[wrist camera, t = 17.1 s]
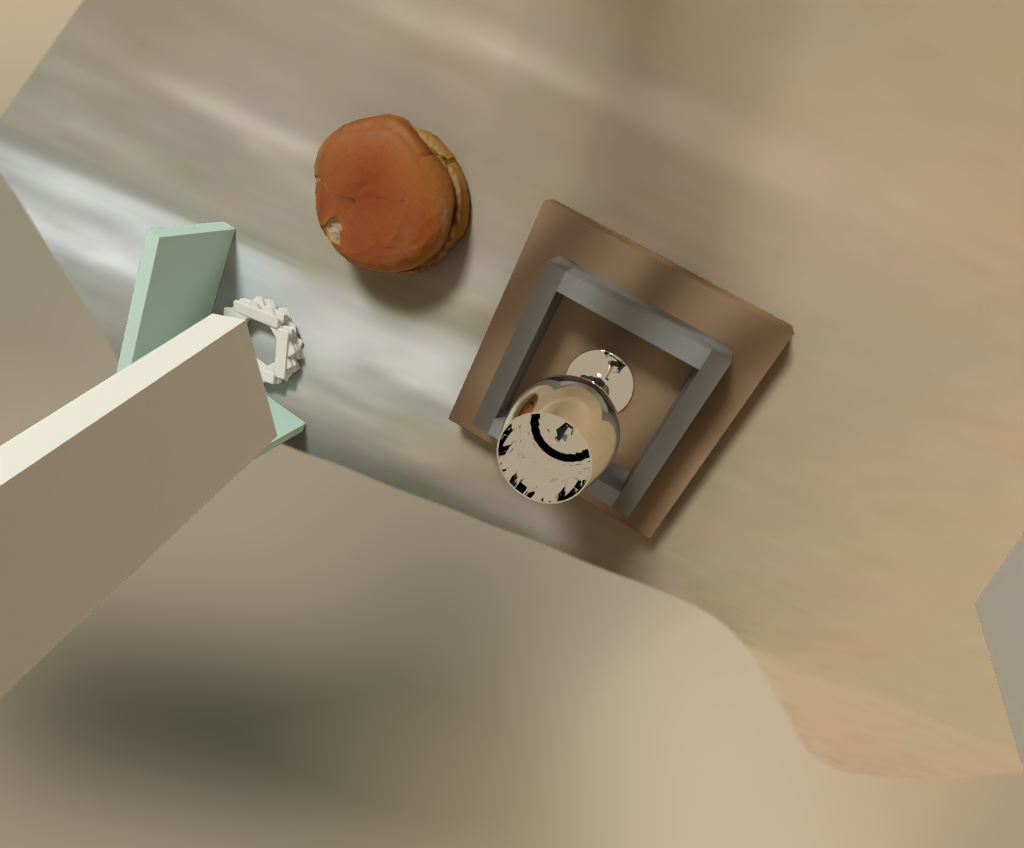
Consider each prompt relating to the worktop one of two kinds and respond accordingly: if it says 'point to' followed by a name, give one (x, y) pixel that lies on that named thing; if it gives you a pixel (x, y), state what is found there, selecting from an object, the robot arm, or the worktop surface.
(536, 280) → the socket base
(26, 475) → the robot arm
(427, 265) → the burger
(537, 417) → the wineglass
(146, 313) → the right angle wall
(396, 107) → the worktop surface
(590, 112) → the worktop surface
